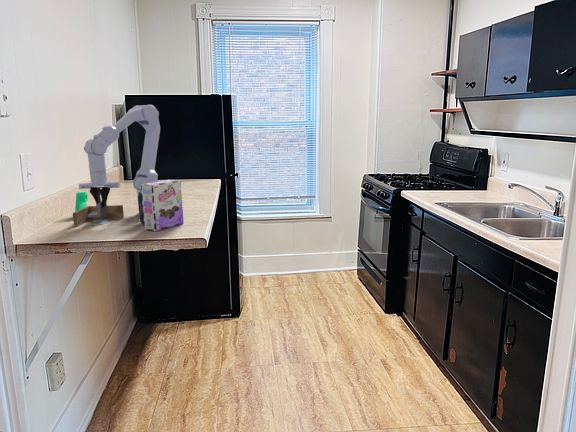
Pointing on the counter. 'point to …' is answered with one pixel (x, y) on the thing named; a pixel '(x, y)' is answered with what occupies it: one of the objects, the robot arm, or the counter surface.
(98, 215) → the bracket
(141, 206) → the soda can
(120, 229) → the counter surface
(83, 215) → the corner walls
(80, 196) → the camera mount
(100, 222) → the pad
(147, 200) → the candy box
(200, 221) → the counter surface
